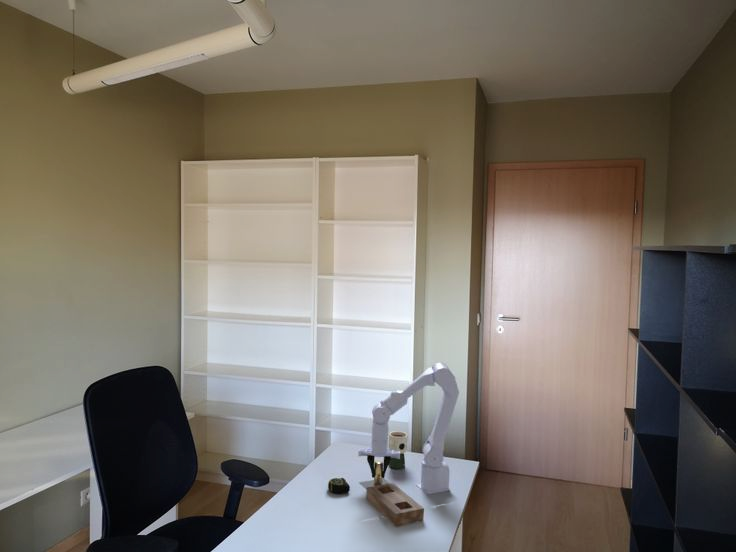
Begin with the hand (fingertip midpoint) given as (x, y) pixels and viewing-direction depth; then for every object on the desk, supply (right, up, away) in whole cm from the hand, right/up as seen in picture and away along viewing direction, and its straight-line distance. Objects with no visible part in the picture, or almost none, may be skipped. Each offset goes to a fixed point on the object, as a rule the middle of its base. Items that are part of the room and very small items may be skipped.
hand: (378, 476), depth 203 cm
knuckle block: (+5, -5, -16) cm, 18 cm away
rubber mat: (0, -4, 0) cm, 4 cm away
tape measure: (-13, -4, -4) cm, 14 cm away
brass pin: (0, -3, 0) cm, 3 cm away
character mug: (+7, -3, +19) cm, 20 cm away
